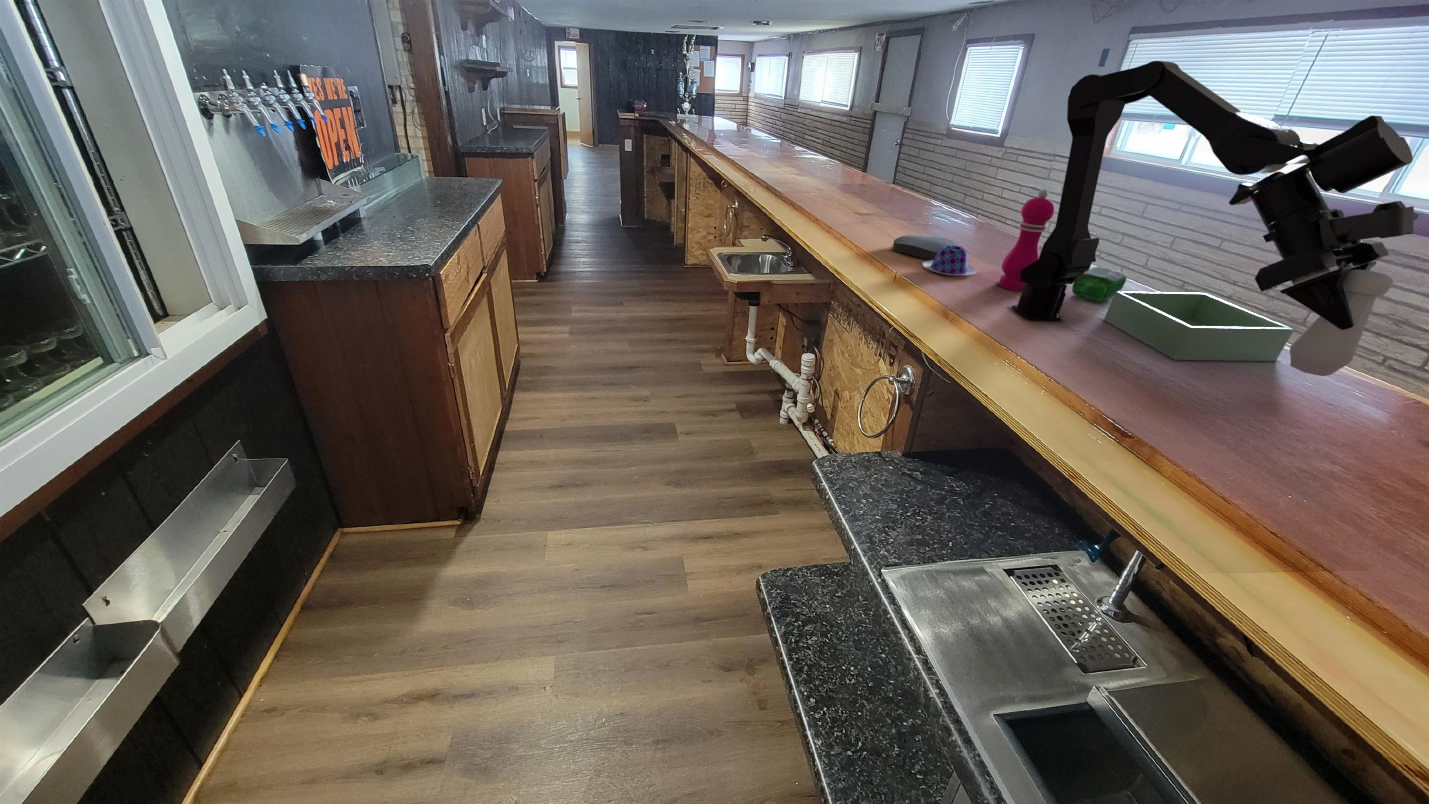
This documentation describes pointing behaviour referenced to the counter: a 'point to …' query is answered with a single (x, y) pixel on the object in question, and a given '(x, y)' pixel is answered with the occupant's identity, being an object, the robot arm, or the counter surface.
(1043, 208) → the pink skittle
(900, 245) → the media streaming box
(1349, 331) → the salt shaker
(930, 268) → the patterned bucket hat
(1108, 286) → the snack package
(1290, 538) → the counter surface
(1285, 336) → the bin
